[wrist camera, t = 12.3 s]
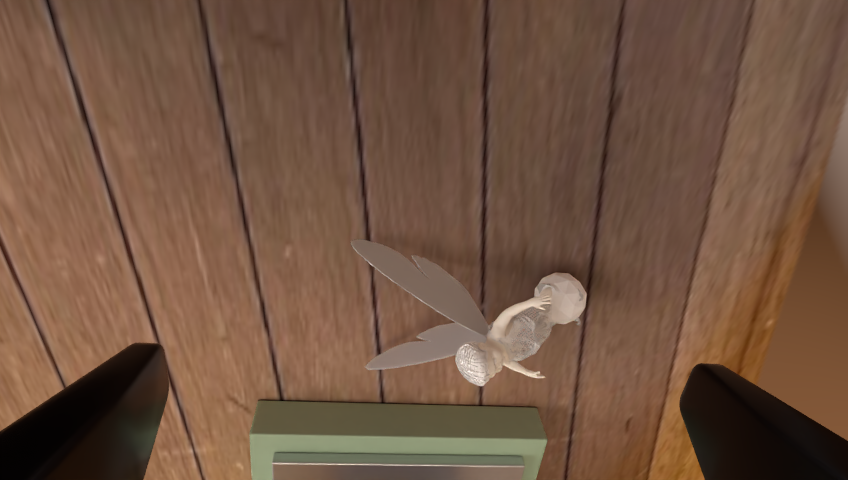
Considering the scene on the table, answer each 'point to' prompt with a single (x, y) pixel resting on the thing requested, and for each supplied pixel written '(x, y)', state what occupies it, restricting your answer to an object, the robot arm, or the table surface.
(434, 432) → the scale
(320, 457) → the pan
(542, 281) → the fairy figurine
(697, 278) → the table surface
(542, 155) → the table surface
